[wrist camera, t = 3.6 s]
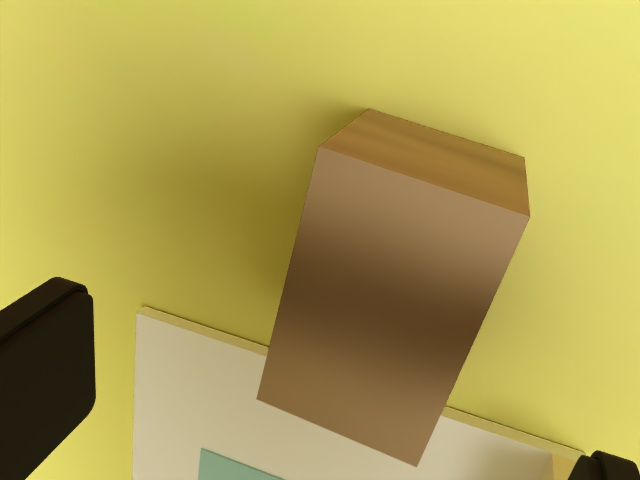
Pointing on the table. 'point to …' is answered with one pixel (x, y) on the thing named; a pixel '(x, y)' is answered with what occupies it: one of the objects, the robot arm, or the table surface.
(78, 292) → the robot arm
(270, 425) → the arena
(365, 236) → the block
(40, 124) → the table surface
